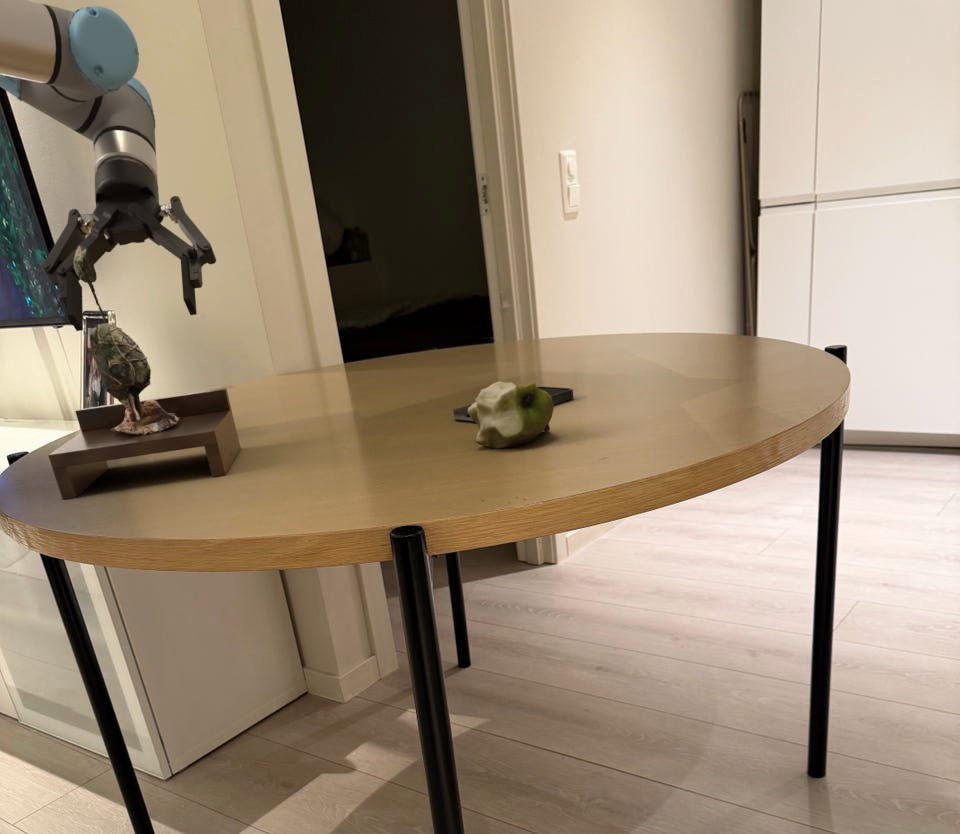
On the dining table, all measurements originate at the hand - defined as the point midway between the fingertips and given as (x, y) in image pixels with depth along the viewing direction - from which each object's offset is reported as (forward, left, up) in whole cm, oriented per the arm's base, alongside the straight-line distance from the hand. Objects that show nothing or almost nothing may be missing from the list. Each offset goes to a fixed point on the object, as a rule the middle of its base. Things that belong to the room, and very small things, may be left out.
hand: (132, 315), depth 106 cm
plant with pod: (0, -8, -12) cm, 15 cm away
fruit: (+41, -21, -17) cm, 49 cm away
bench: (0, -9, -17) cm, 19 cm away
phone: (+44, -3, -17) cm, 47 cm away
